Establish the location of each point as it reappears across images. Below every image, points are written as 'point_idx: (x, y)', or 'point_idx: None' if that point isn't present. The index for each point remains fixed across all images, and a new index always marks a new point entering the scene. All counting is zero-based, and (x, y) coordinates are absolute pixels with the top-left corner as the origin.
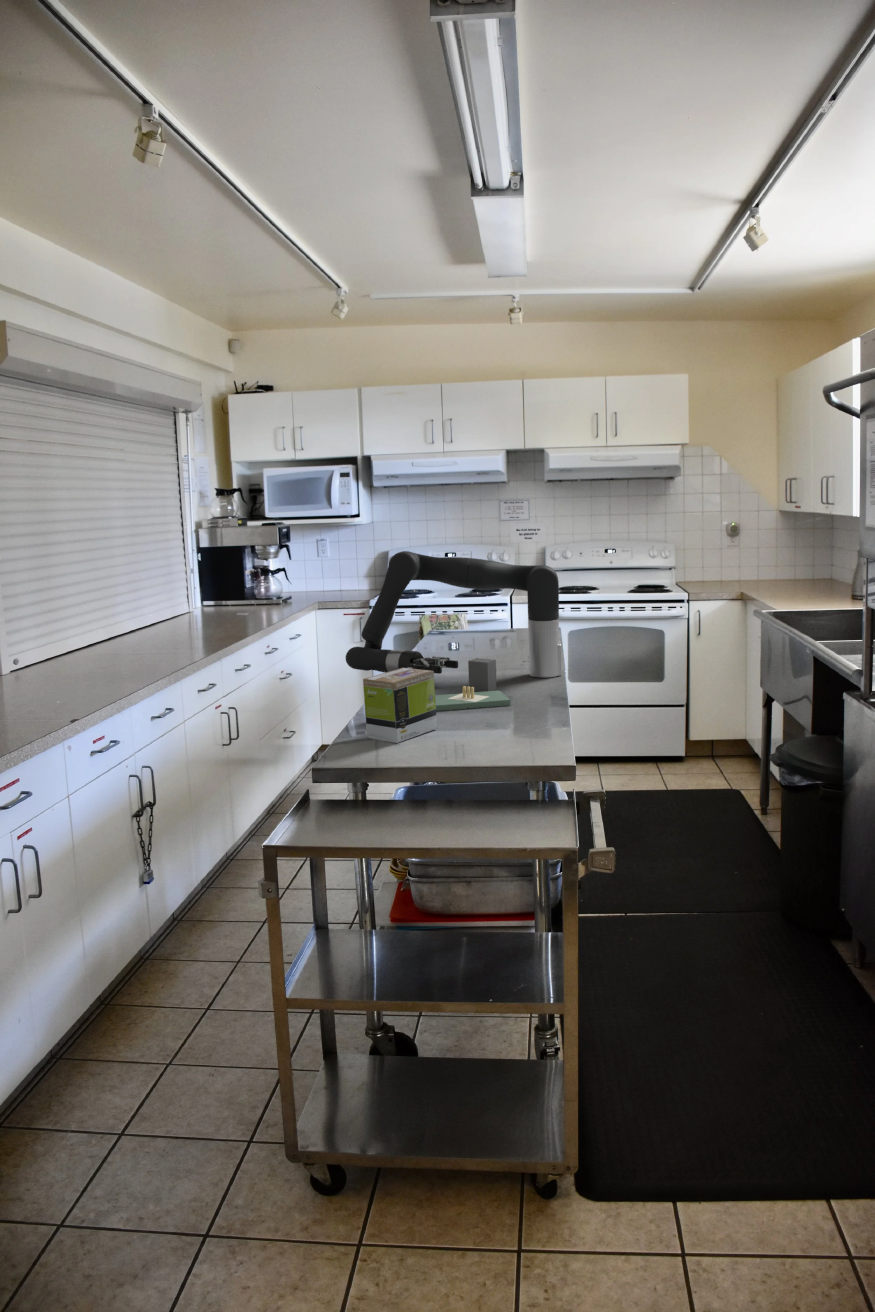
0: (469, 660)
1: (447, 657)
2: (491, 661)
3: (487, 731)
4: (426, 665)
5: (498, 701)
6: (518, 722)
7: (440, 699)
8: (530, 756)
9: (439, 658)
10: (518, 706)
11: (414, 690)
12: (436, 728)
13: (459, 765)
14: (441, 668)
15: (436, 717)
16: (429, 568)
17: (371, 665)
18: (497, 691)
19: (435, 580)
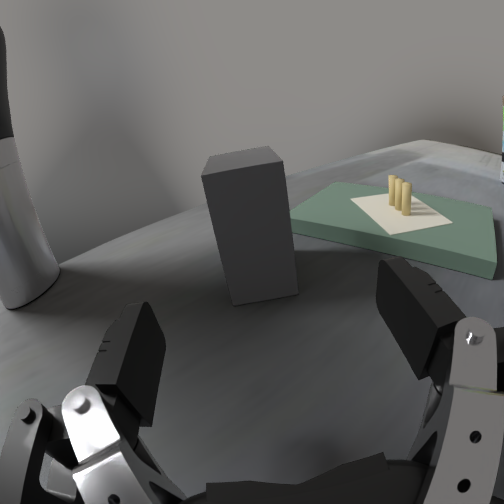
0: (271, 162)
1: (17, 415)
2: (241, 151)
3: (443, 164)
4: (489, 326)
5: (358, 185)
6: (392, 165)
7: (472, 226)
8: (436, 145)
9: (107, 450)
10: None
11: None
12: (500, 179)
13: (490, 153)
14: (382, 271)
15: (501, 164)
16: None
17: None
18: (293, 213)
19: None
